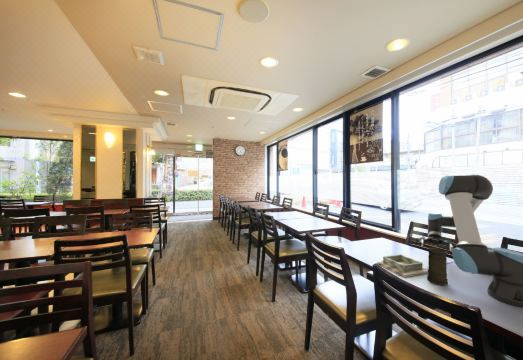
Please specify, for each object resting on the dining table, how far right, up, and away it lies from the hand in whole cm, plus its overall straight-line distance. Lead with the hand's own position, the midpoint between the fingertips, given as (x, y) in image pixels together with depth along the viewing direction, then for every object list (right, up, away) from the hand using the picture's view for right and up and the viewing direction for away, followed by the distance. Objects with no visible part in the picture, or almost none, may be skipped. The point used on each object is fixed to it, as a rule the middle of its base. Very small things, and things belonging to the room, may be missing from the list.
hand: (436, 246), depth 126 cm
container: (-6, -17, -8) cm, 20 cm away
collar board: (-14, -17, +10) cm, 24 cm away
